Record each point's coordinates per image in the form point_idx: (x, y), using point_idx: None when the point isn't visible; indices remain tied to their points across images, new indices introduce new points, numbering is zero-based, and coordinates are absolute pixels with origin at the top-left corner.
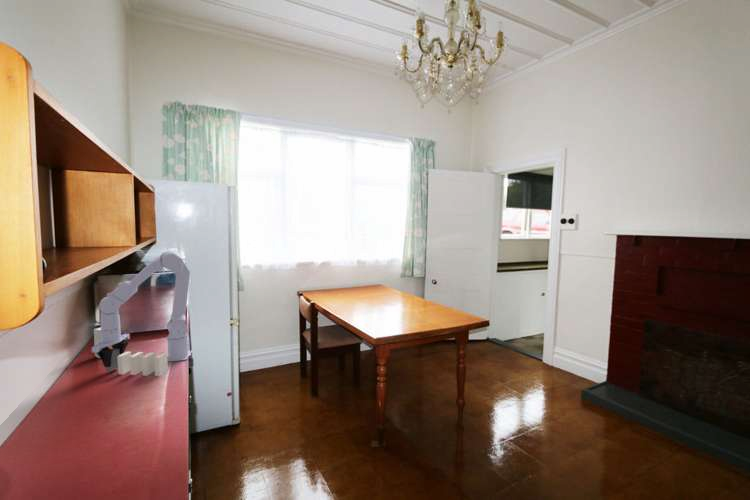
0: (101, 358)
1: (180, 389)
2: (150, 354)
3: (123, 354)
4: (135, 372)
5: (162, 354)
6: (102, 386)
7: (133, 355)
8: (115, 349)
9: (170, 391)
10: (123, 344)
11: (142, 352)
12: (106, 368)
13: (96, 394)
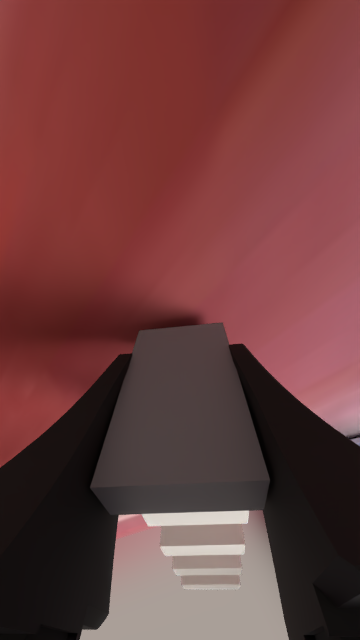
0: (67, 423)
1: (137, 530)
2: (214, 573)
3: (181, 518)
4: None
5: (223, 586)
6: (47, 408)
7: (181, 550)
8: (229, 500)
9: (122, 525)
10: (287, 617)
11: (238, 554)
12: (136, 345)
13: (5, 432)
